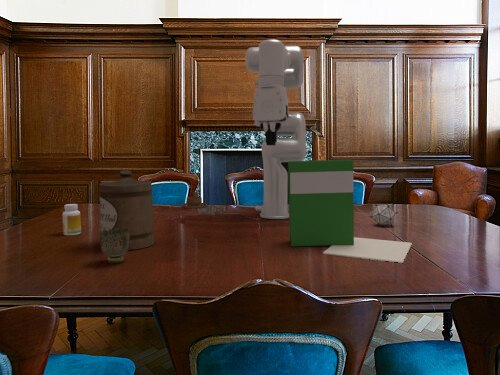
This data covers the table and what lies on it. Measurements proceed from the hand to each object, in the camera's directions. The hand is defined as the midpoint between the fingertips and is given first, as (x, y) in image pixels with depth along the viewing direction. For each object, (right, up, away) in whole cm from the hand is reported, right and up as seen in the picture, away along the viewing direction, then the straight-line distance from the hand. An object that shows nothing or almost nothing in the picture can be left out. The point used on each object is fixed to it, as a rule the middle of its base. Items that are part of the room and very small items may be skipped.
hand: (271, 145), depth 124 cm
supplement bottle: (-65, -28, +10) cm, 71 cm away
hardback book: (+14, -29, -4) cm, 33 cm away
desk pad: (+27, -30, -10) cm, 41 cm away
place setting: (-31, -22, +74) cm, 83 cm away
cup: (-40, -32, -22) cm, 55 cm away
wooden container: (-42, -30, -4) cm, 52 cm away
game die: (+41, -27, +23) cm, 54 cm away
